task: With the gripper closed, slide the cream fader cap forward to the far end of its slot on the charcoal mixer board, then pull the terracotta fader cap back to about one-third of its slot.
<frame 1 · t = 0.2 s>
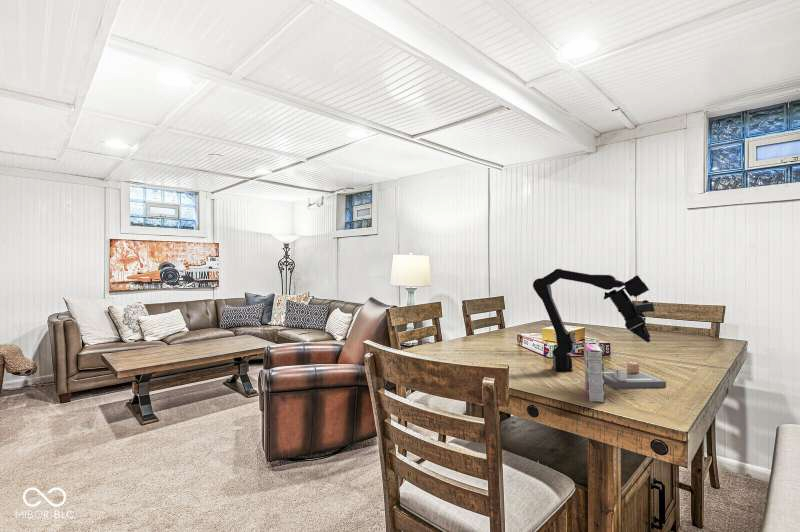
hand: (649, 339, 149), 15 cm above the table, tool tilted 30°, fingers open, 9 cm apart
fader a: (620, 374, 142), point 4 cm above the table, slide at 0.0 cm
fader b: (633, 367, 152), point 4 cm above the table, slide at 10.0 cm
candy bar box: (594, 397, 131), on the table
console: (627, 381, 147), on the table
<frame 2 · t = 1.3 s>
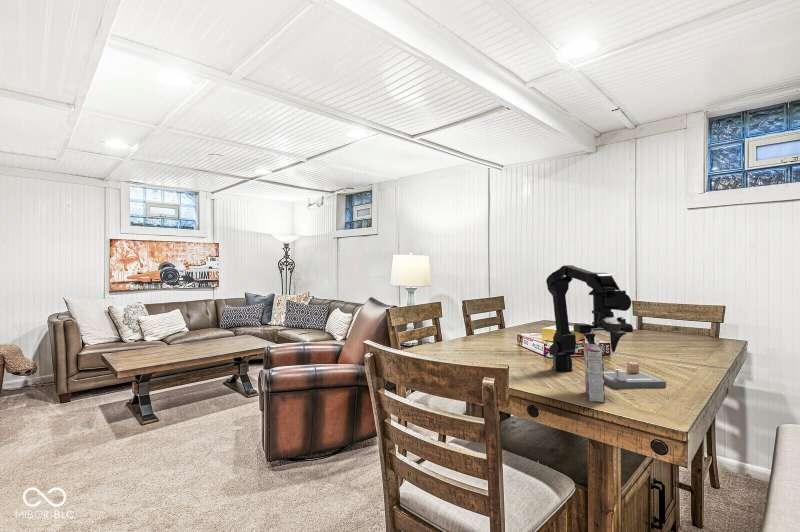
hand: (603, 352, 142), 12 cm above the table, tool pointing down, fingers open, 7 cm apart
nothing on the table moved.
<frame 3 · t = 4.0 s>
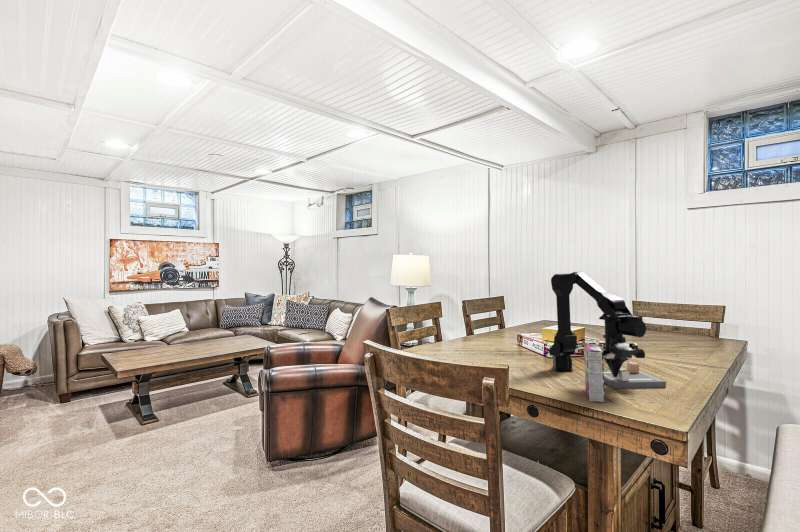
hand: (615, 377, 142), 3 cm above the table, tool pointing down, fingers closed
fader a: (622, 374, 142), point 4 cm above the table, slide at 0.8 cm, touching gripper
everything else where it was.
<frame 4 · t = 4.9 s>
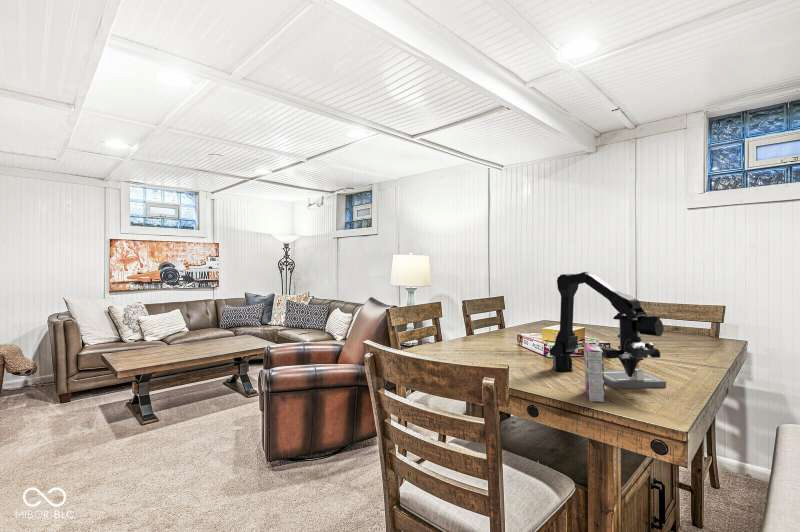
hand: (630, 376, 142), 3 cm above the table, tool pointing down, fingers closed
fader a: (637, 374, 142), point 4 cm above the table, slide at 6.0 cm, touching gripper
everything else where it was.
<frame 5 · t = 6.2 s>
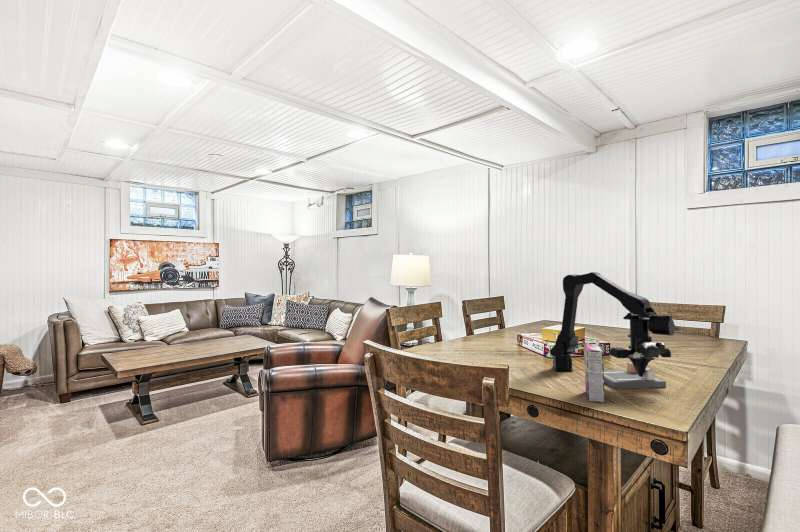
hand: (640, 376, 142), 3 cm above the table, tool pointing down, fingers closed
fader a: (648, 374, 142), point 4 cm above the table, slide at 9.8 cm, touching gripper
everything else where it was.
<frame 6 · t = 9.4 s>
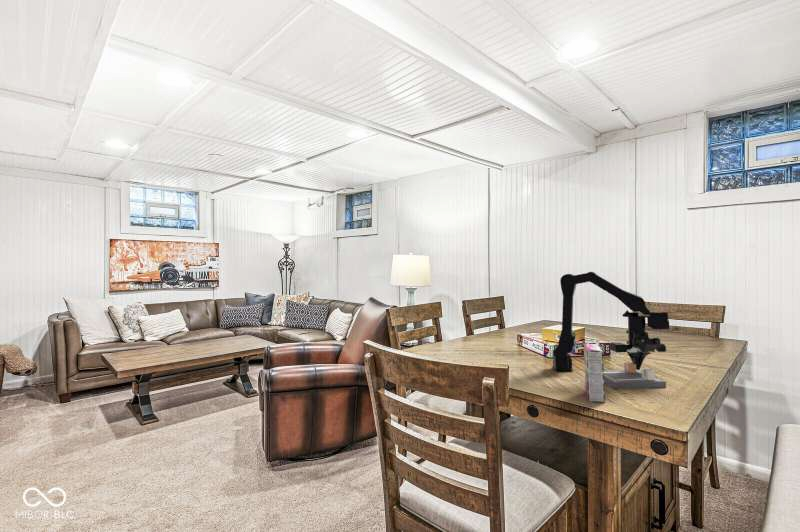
hand: (637, 369, 152), 3 cm above the table, tool pointing down, fingers closed
fader a: (648, 374, 142), point 4 cm above the table, slide at 9.8 cm
fader b: (630, 367, 152), point 4 cm above the table, slide at 8.9 cm, touching gripper
everything else where it was.
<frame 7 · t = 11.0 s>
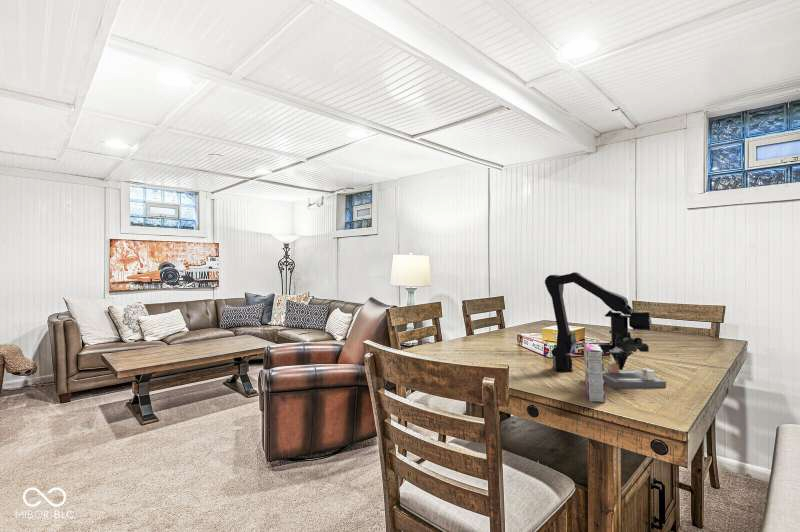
hand: (620, 369, 152), 3 cm above the table, tool pointing down, fingers closed
fader b: (613, 367, 152), point 4 cm above the table, slide at 2.4 cm, touching gripper
everything else where it was.
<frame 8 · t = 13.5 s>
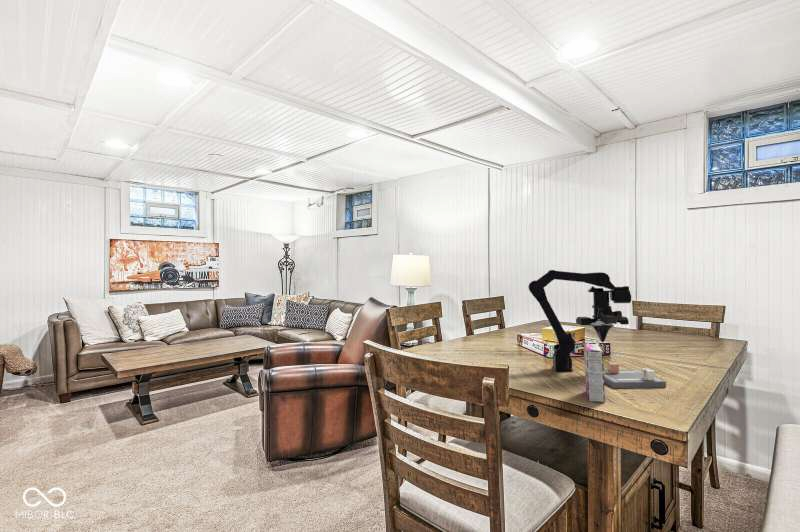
hand: (602, 341, 161), 12 cm above the table, tool pointing down, fingers closed
fader b: (613, 367, 152), point 4 cm above the table, slide at 2.4 cm
everything else where it was.
at the end: fader a slide at 9.8 cm; fader b slide at 2.4 cm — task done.
